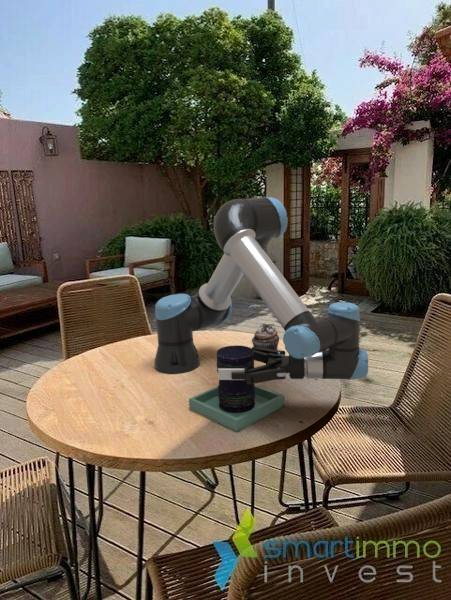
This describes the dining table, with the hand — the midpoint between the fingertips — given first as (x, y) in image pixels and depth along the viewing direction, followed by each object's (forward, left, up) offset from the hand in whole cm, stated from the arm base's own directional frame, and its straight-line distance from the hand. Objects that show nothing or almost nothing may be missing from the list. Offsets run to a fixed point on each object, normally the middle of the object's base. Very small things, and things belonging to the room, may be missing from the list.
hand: (221, 364), depth 121 cm
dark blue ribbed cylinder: (+3, +2, -12) cm, 12 cm away
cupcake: (-19, +39, -13) cm, 45 cm away
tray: (+3, +2, -12) cm, 13 cm away
